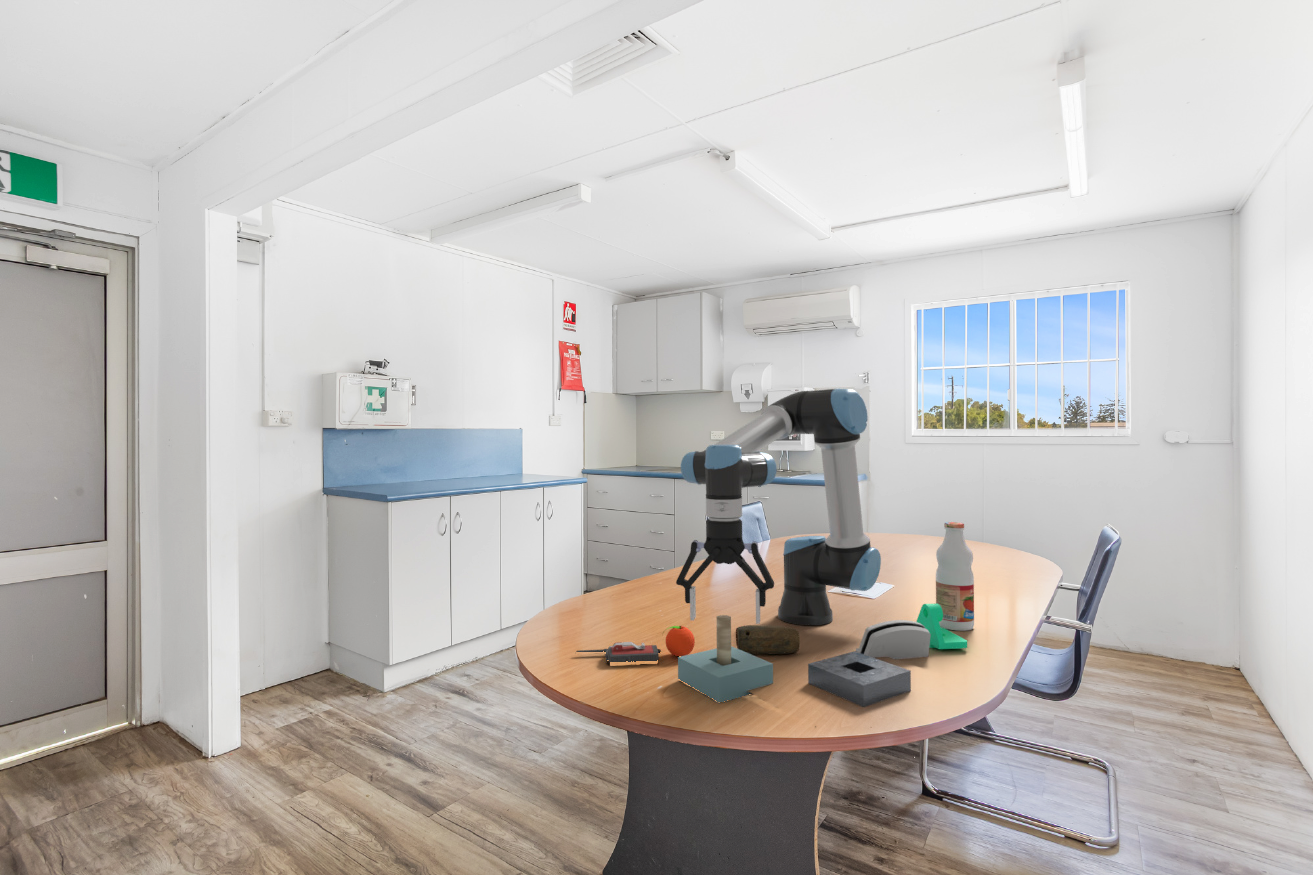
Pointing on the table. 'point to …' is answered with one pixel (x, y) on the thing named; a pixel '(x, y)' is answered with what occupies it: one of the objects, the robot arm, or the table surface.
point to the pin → (723, 640)
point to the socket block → (724, 674)
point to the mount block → (859, 678)
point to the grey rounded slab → (895, 640)
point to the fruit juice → (955, 580)
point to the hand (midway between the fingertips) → (725, 620)
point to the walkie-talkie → (629, 652)
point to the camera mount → (938, 628)
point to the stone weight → (767, 639)
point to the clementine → (680, 641)
